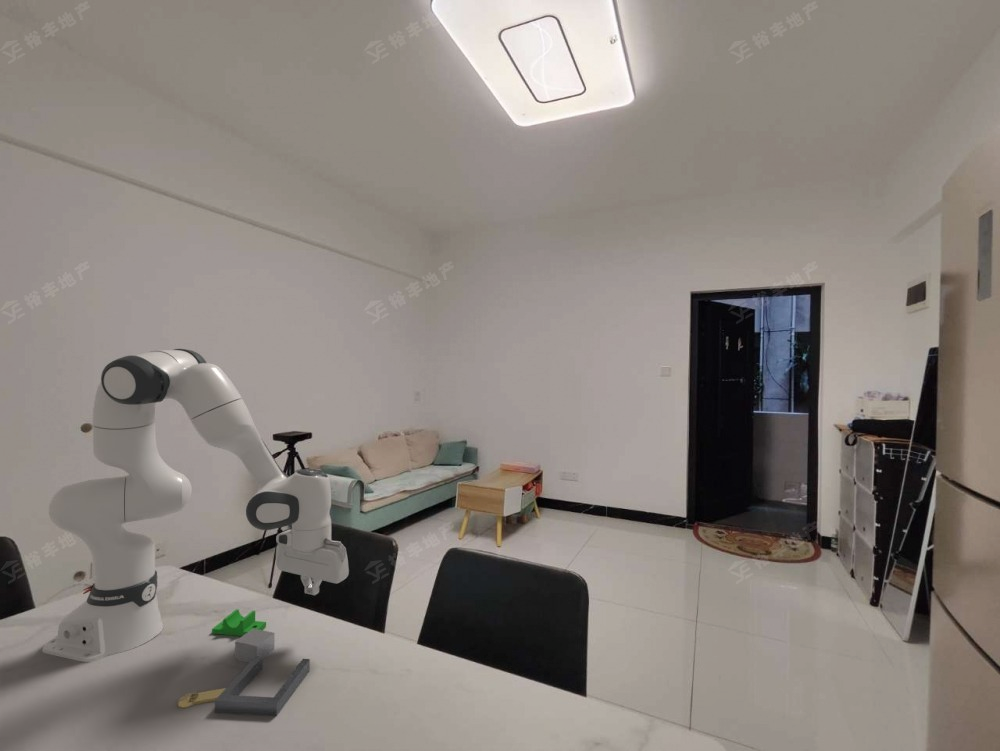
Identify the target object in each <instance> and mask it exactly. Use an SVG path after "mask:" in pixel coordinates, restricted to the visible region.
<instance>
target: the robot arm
mask: <svg viewBox="0 0 1000 751" xmlns="http://www.w3.org/2000/svg"><path fill="white" fill-rule="evenodd" d="M96 388H97V389H96V391H95V392H96V393H95V396H94V402H93V410H92V411H93V412H92V451H93V455H94V457H95V458H96V460H98V461H100V462H101V463H102V464H104V465H107V466H110V467H114V468H118V469H120V470H123V471H124V472H126V473H127V474H128V475H126V476H125V475H123V476H115V477H107V478H106V477H105V478H96V479H88V480H84V481H80V482H76V483H72V484H70V485H69V484H68V485H64V486H63V487H61V488H60V489H59V490H58V491H57V492H56V493H55V494H54V495H53V497H52V498H51V500H50V503H49V505H48V516H49V519H50V520H51V522H52V523H53V524H54V526H56V527H58V528H59V529H61V530H64V531H66V532H68V533H71V534H73V535H75V536H76V537H78V538H79V539H81V540H82V541H83V542H84V544H85V545H86V546H87V547H88V549H89V551H90V553H91V557H92V562H93V574H94V582H93V583H92V585H89V586H88V587H86V588H84V589H82V591H84V592H83V593H82V594H83V595H85V594H87V593H89V595H88V596H87V599H86V600H85V601H84V602H83V603H81V604H80V605H78V606H77V607H76V608H74V609H73V610H72V611H71V612H69V613H68V614H67V615H65V617H63V619H61V621H60V623H59V624H58V630H57V635H56V636H54V637H53V638H52V639H50V640H49V641H48V642H46V644H45V645H44V646H43V647H42V650H41V651H42V653H43V654H46V655H51V656H57V657H60V658H65V659H70V660H72V661H73V660H74V661H79V662H83V663H92V662H95V661H98V660H102V659H103V658H105V657H109V656H113V655H116V654H121V653H124V652H127V651H130V650H132V649H136V648H137V647H140V646H141V645H144V644H146V643H148V642H149V641H151V640H152V639H154V638H156V636H158V635H159V634H160V633H161V632H162V630H163V629H164V623H163V620H162V615H161V614H162V613H161V611H160V609H159V608H160V607H159V602H158V595H157V589H158V572H157V571H158V570H156V544H155V542H154V541H153V539H152V538H150V536H149V537H148V536H146V535H144V534H140V533H137V532H131V531H129V530H127V529H126V528H124V526H123V524H126V523H132V522H138V521H144V520H152V519H158V518H163V517H165V516H168V515H171V514H175V513H178V512H181V511H182V510H184V509H185V508H186V506H187V505H188V504H189V502H190V500H191V499H192V494H193V487H192V483H191V481H190V480H189V478H188V477H187V476H186V475H185V474H184V473H181V472H179V471H177V470H176V469H174V468H172V467H171V466H169V465H168V464H167V463H166V462H165V461H164V460H163V458H162V457H161V455H160V453H159V452H160V451H159V449H158V444H157V436H156V404H157V403H161V402H163V401H164V400H166V399H171V400H174V401H176V402H178V403H179V404H180V405H181V406H182V408H183V409H184V411H185V413H186V415H187V417H188V419H189V421H190V423H191V424H192V425H193V427H194V429H195V431H196V432H197V433H198V435H200V438H202V439H203V440H204V441H205V443H206V444H208V445H209V446H212V447H214V448H218V449H222V450H225V451H229V452H230V453H232V454H234V455H235V456H237V458H238V459H239V460H240V461H241V462H242V464H243V465H244V466H245V469H246V470H247V472H248V473H249V474H250V477H251V478H252V479H253V481H254V483H255V485H256V487H257V492H256V493H254V495H252V497H251V498H250V500H249V501H248V502H247V505H246V509H245V516H246V519H247V521H248V523H249V524H250V525H251V526H252V527H253V528H256V529H257V530H260V531H271V530H275V529H279V528H283V527H284V528H285V527H287V526H290V525H291V528H290V529H287V530H285V531H282V532H280V533H278V534H276V537H275V538H276V539H275V540H276V544H277V545H276V548H275V562H276V563H275V564H276V567H277V569H278V570H279V571H282V572H287V573H290V574H294V575H299V576H300V580H301V583H302V584H303V586H304V594H308V595H312V596H316V595H318V594H319V593H320V585H321V584H322V582H323V581H324V582H328V583H332V584H339V583H341V582H343V581H344V580H345V579H347V578H348V576H349V574H350V573H349V572H350V569H349V560H348V554H347V553H348V552H347V548H346V547H345V546H344V544H343V543H342V542H341V541H339V540H333V539H332V518H331V514H330V512H331V508H332V488H331V481H330V477H329V476H328V474H327V473H325V471H322V470H319V469H313V468H305V469H304V468H303V469H298V470H296V471H295V472H294V473H293V474H291V475H290V476H289V475H288V474H287V473H286V472H284V470H282V468H281V467H280V465H279V463H277V461H276V459H275V458H274V456H273V455H272V453H271V451H270V450H269V448H268V446H267V445H266V443H265V442H264V440H263V439H262V437H261V434H260V433H259V430H258V429H257V427H256V425H255V422H254V419H253V417H252V415H251V412H250V410H249V408H248V406H247V405H246V403H245V401H244V399H243V397H242V395H241V394H240V392H239V390H238V388H236V386H235V385H234V383H233V381H231V379H230V378H229V377H228V376H227V374H226V373H225V371H223V369H222V368H221V367H219V366H218V365H216V364H214V363H209V362H207V360H205V358H204V357H203V356H202V355H201V354H200V353H198V352H196V351H194V350H191V349H185V348H174V349H158V350H151V351H149V352H143V353H139V354H135V355H124V356H122V357H120V358H117V359H114V360H112V361H111V362H108V364H107V365H105V367H103V370H102V372H101V377H100V382H99V384H98V386H97V387H96Z"/></svg>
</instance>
